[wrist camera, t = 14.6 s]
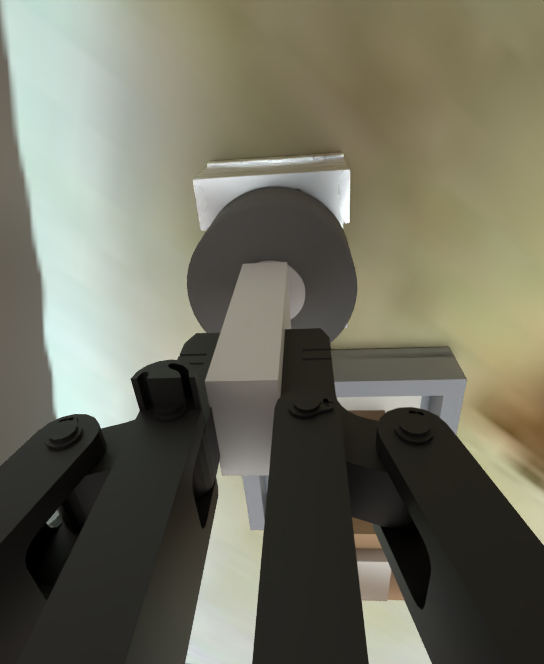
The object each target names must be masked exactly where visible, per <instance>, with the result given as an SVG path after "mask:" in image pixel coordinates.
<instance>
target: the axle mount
mask: <svg viewBox="0 0 544 664" xmlns="http://www.w3.org/2000/svg"><path fill="white" fill-rule="evenodd" d="M193 185H194V192H195V198H196V205H197V211H198V217H199V224H200V230H201V231H203V230H208V228H209V227H210V225H211V223H212V222H213V220H214V219H215V218H216V216H217V215H218V213H219V212H220V211H221V210H222V209H223V208H224V207H225V206H226V205H227V204H228V203H230V202H231V201H232V200H233V199H235V198H237V197H238V196H240V195H242V194H244V193H247V192H249V191H252V190H256V189H259V188H266V187H285V188H291V189H295V190H298V191H302V192H304V193H306V194H309V195H311V196H312V197H314V198H316V199H317V200H319V201H320V202H321V203H323V204H324V205H325V206H326V207H327V208H328V209H329V210H330V211H331V212H332V213H333V214H334V215H335V217H336V218H337V220H338V221H339V222H340V224H341V226H342V228H343V223H349V212H350V168H349V166H348V164H347V163H346V161H345V159H344V154H343V153H342V152H337V153H322V154H307V155H292V156H277V157H263V158H248V159H233V160H218V161H210V162H209V163H208V164H207V167H206V168H205V169H204V170H203V171H202V172H201V173H199V174H198V175H197V176H196V177H195V178H194V179H193ZM345 328H347V324H346V326H345Z"/></svg>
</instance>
